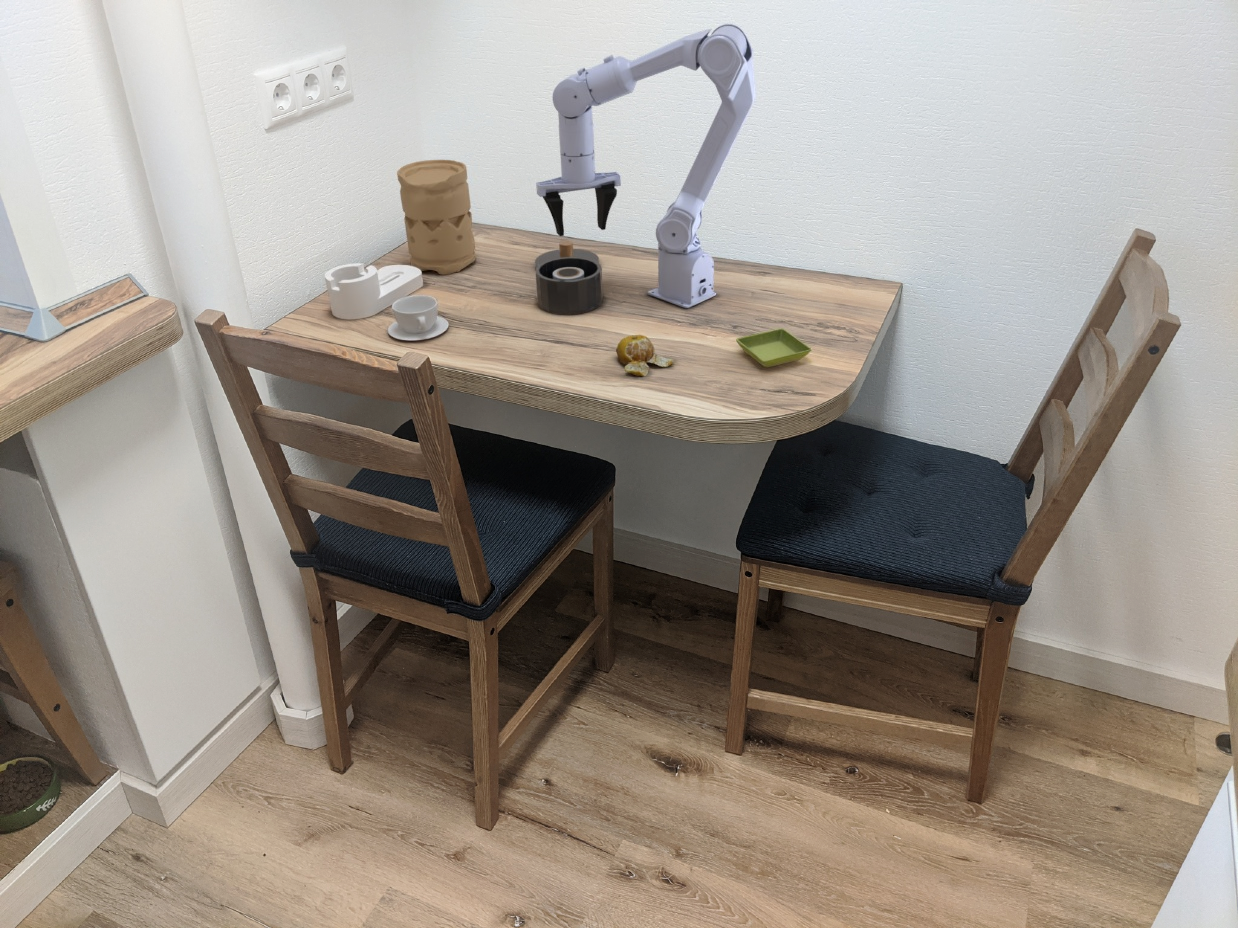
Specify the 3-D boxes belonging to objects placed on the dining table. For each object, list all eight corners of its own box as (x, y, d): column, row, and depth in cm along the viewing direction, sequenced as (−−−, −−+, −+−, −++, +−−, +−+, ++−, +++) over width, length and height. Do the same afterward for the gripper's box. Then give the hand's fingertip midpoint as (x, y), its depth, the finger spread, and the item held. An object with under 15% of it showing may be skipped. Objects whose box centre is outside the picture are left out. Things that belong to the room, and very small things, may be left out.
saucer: (762, 373, 143) (763, 361, 142) (733, 350, 150) (734, 338, 149) (812, 361, 146) (813, 349, 145) (781, 339, 153) (782, 327, 152)
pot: (616, 300, 168) (615, 268, 164) (567, 320, 161) (565, 287, 158) (572, 283, 174) (570, 252, 171) (524, 302, 168) (521, 270, 165)
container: (471, 274, 179) (460, 178, 170) (405, 275, 180) (390, 180, 170) (480, 250, 190) (470, 158, 180) (417, 251, 190) (404, 160, 180)
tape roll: (591, 298, 167) (590, 272, 165) (568, 307, 164) (567, 281, 162) (570, 290, 171) (569, 264, 168) (548, 299, 167) (546, 272, 165)
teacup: (382, 324, 162) (378, 298, 159) (440, 313, 165) (437, 287, 162) (395, 347, 154) (391, 321, 151) (455, 335, 157) (452, 309, 154)
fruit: (633, 379, 143) (633, 357, 141) (602, 359, 148) (601, 338, 146) (677, 364, 146) (677, 342, 144) (645, 345, 152) (645, 324, 150)
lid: (612, 264, 182) (611, 241, 179) (564, 283, 175) (563, 259, 172) (569, 249, 189) (568, 227, 187) (522, 266, 182) (520, 243, 180)
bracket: (360, 323, 162) (353, 286, 159) (321, 314, 166) (313, 278, 162) (431, 281, 177) (426, 246, 173) (393, 274, 180) (388, 240, 177)
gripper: (609, 141, 165) (612, 218, 172) (528, 151, 161) (534, 230, 168) (624, 151, 160) (626, 230, 167) (540, 162, 155) (546, 242, 163)
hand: (581, 231), depth 167 cm, fingers open, 7 cm apart
